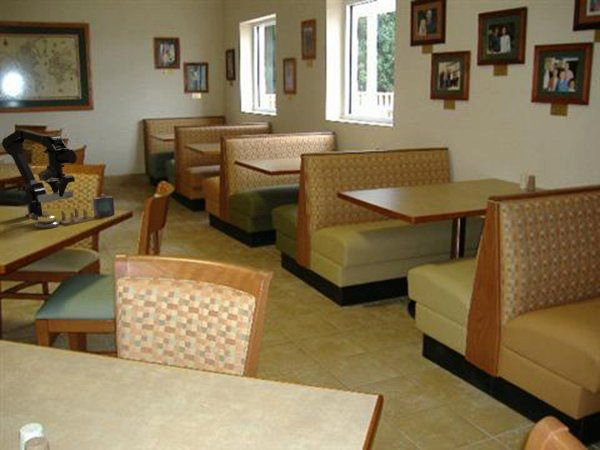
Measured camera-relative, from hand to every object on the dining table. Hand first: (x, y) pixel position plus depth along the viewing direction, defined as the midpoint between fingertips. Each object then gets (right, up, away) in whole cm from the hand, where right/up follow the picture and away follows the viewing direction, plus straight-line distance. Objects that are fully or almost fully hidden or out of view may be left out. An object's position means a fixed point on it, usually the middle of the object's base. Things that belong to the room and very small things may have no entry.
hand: (58, 196), depth 285 cm
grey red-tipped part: (-3, -12, -13) cm, 17 cm away
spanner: (-1, -2, -1) cm, 2 cm away
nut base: (+1, -14, -14) cm, 20 cm away
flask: (+19, -9, +6) cm, 22 cm away
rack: (+9, -12, -5) cm, 16 cm away
